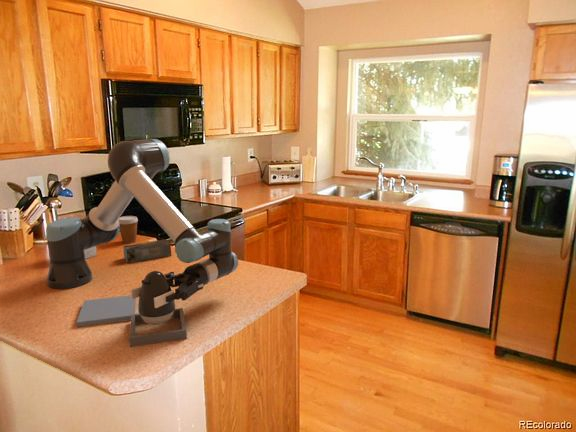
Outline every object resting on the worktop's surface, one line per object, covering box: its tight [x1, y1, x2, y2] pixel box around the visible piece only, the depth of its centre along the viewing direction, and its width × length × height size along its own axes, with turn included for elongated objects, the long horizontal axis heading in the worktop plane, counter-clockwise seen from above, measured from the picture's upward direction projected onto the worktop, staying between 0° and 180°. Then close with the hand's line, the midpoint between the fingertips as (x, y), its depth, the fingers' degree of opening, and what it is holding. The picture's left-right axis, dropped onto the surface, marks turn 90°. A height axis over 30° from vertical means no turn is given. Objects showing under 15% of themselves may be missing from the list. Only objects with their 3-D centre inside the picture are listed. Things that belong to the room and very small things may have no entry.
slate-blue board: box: [76, 294, 137, 328], centre depth 138 cm, size 16×16×2 cm
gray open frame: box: [128, 307, 187, 348], centre depth 127 cm, size 15×15×2 cm
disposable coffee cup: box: [119, 215, 139, 244], centre depth 212 cm, size 10×10×12 cm
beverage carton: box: [122, 239, 172, 264], centre depth 190 cm, size 8×19×7 cm, turn 121°
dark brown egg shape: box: [137, 270, 176, 326], centre depth 125 cm, size 10×10×15 cm
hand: (143, 298), depth 121 cm, fingers closed on dark brown egg shape, 9 cm apart
